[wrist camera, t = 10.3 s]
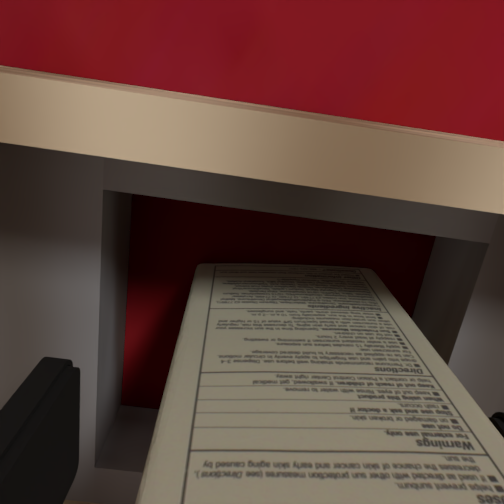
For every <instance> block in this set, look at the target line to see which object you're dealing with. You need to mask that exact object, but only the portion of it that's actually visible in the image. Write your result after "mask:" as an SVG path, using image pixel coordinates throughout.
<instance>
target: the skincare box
mask: <svg viewBox="0 0 504 504" xmlns="http://www.w3.org/2000/svg"><path fill="white" fill-rule="evenodd" d="M135 504H504V438H503V437H502V435H501V434H500V433H499V431H498V430H497V429H496V428H495V426H494V425H493V424H492V422H491V421H490V420H489V419H488V417H487V416H486V415H485V414H484V412H483V411H482V410H481V408H480V407H479V406H478V404H477V403H476V402H475V401H474V399H473V398H472V397H471V395H470V394H469V393H468V392H467V390H466V389H465V388H464V386H463V385H462V384H461V382H460V381H459V380H458V378H457V377H456V376H455V375H454V373H453V372H452V371H451V370H450V368H449V367H448V366H447V364H446V363H445V362H444V361H443V359H442V358H441V357H440V355H439V354H438V353H437V352H436V350H435V349H434V348H433V347H432V345H431V344H430V343H429V341H428V340H427V339H426V337H425V336H424V335H423V333H422V332H421V331H420V330H419V328H418V327H417V326H416V324H415V323H414V322H413V321H412V319H411V318H410V317H409V315H408V314H407V313H406V311H405V310H404V309H403V308H402V306H401V305H400V304H399V303H398V301H397V300H396V299H395V297H394V296H393V295H392V294H391V292H390V291H389V290H388V288H387V287H386V286H385V285H384V283H383V282H382V281H381V279H380V278H379V277H378V275H377V274H376V273H375V272H374V271H373V270H372V269H369V268H357V267H343V266H323V265H296V264H247V263H215V264H211V263H203V264H199V265H197V267H196V270H195V274H194V278H193V282H192V285H191V290H190V294H189V297H188V301H187V305H186V308H185V312H184V316H183V320H182V324H181V328H180V332H179V336H178V339H177V342H176V346H175V350H174V354H173V358H172V362H171V366H170V370H169V374H168V377H167V381H166V385H165V389H164V393H163V397H162V400H161V404H160V408H159V412H158V416H157V420H156V424H155V428H154V432H153V436H152V440H151V444H150V447H149V451H148V455H147V459H146V463H145V467H144V470H143V474H142V478H141V482H140V486H139V490H138V494H137V498H136V502H135Z"/></svg>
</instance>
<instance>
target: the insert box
mask: <svg viewBox="0 0 504 504" xmlns="http://www.w3.org/2000/svg"><path fill="white" fill-rule="evenodd" d="M132 194H139V195H146V196H153V197H161V198H168V199H175V200H182V201H189V202H196V203H203V204H211V205H218V206H225V207H232V208H239V209H246V210H253V211H261V212H268V213H275V214H282V215H289V216H296V217H303V218H311V219H318V220H325V221H332V222H339V223H346V224H354V225H361V226H368V227H375V228H382V229H389V230H396V231H404V232H411V233H418V234H425V235H432V236H436V238H435V241H434V245H433V248H432V251H431V255H430V258H429V261H428V265H427V268H426V272H425V275H424V278H423V282H422V285H421V288H420V292H419V295H418V299H417V302H416V305H415V309H414V312H413V315H412V321H413V322H414V323H415V324H416V326H417V327H418V328H419V330H420V331H421V332H422V333H423V335H424V336H425V337H426V339H427V340H428V341H429V343H430V344H431V345H432V347H433V348H434V349H435V350H436V352H437V353H438V354H439V355H440V357H441V358H442V359H443V361H444V362H445V363H446V364H447V366H448V367H449V368H450V370H451V371H452V372H453V373H454V375H455V376H456V377H457V378H458V380H459V381H460V382H461V384H462V385H463V386H464V388H465V389H466V390H467V392H468V393H469V394H470V395H471V397H472V398H473V399H474V401H475V402H476V403H477V404H478V406H479V407H480V408H481V410H482V411H483V412H484V414H485V415H486V416H487V417H488V418H489V417H491V416H492V415H493V414H494V413H495V412H504V142H503V141H497V140H490V139H484V138H477V137H470V136H464V135H457V134H451V133H444V132H437V131H431V130H424V129H417V128H411V127H404V126H398V125H391V124H384V123H378V122H371V121H365V120H358V119H351V118H345V117H338V116H331V115H325V114H318V113H312V112H305V111H298V110H292V109H285V108H279V107H272V106H265V105H259V104H252V103H246V102H239V101H232V100H226V99H219V98H212V97H206V96H199V95H193V94H186V93H179V92H173V91H166V90H160V89H153V88H146V87H140V86H133V85H127V84H120V83H113V82H107V81H100V80H93V79H87V78H80V77H74V76H67V75H60V74H54V73H47V72H41V71H34V70H27V69H21V68H14V67H7V66H1V65H0V410H1V409H2V408H3V406H4V405H5V404H6V403H7V401H8V400H9V399H10V398H11V396H12V395H13V394H14V393H15V391H16V390H17V389H18V388H19V386H20V385H21V384H22V383H23V381H24V380H25V379H26V378H27V376H28V375H29V374H30V373H31V371H32V370H33V369H34V368H35V367H36V365H37V364H38V363H39V362H40V360H41V359H42V358H43V357H54V358H62V359H70V360H72V362H73V367H79V368H80V434H79V465H78V470H77V473H76V476H75V479H74V481H73V483H72V485H71V488H70V490H69V492H68V494H67V496H66V498H65V501H64V503H63V504H135V502H136V498H137V494H138V490H139V486H140V482H141V478H142V474H143V470H144V467H145V463H146V459H147V455H148V451H149V447H150V444H151V440H152V436H153V432H154V428H155V424H156V420H157V416H158V412H159V409H151V408H143V407H134V406H126V405H121V397H122V379H123V360H124V341H125V322H126V303H127V285H128V266H129V247H130V228H131V210H132Z"/></svg>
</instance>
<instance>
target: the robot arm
mask: <svg viewBox="0 0 504 504" xmlns="http://www.w3.org/2000/svg"><path fill="white" fill-rule="evenodd" d="M488 419H489V420H490V421H491V422H492V424H493V425H494V426H495V428H496V429H497V430H498V431H499V433H500V434H501V435H502V437H503V438H504V412H495V413H494V414H493V415H492V416H491V417H489V418H488ZM79 434H80V368H79V367H73V362H72V360H70V359H62V358H54V357H43V358H42V359H41V360H40V362H39V363H38V364H37V365H36V367H35V368H34V369H33V370H32V371H31V373H30V374H29V375H28V376H27V378H26V379H25V380H24V381H23V383H22V384H21V385H20V386H19V388H18V389H17V390H16V391H15V393H14V394H13V395H12V396H11V398H10V399H9V400H8V401H7V403H6V404H5V405H4V406H3V408H2V409H1V410H0V504H63V503H64V501H65V498H66V496H67V494H68V492H69V490H70V488H71V485H72V483H73V481H74V479H75V476H76V473H77V470H78V465H79Z"/></svg>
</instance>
